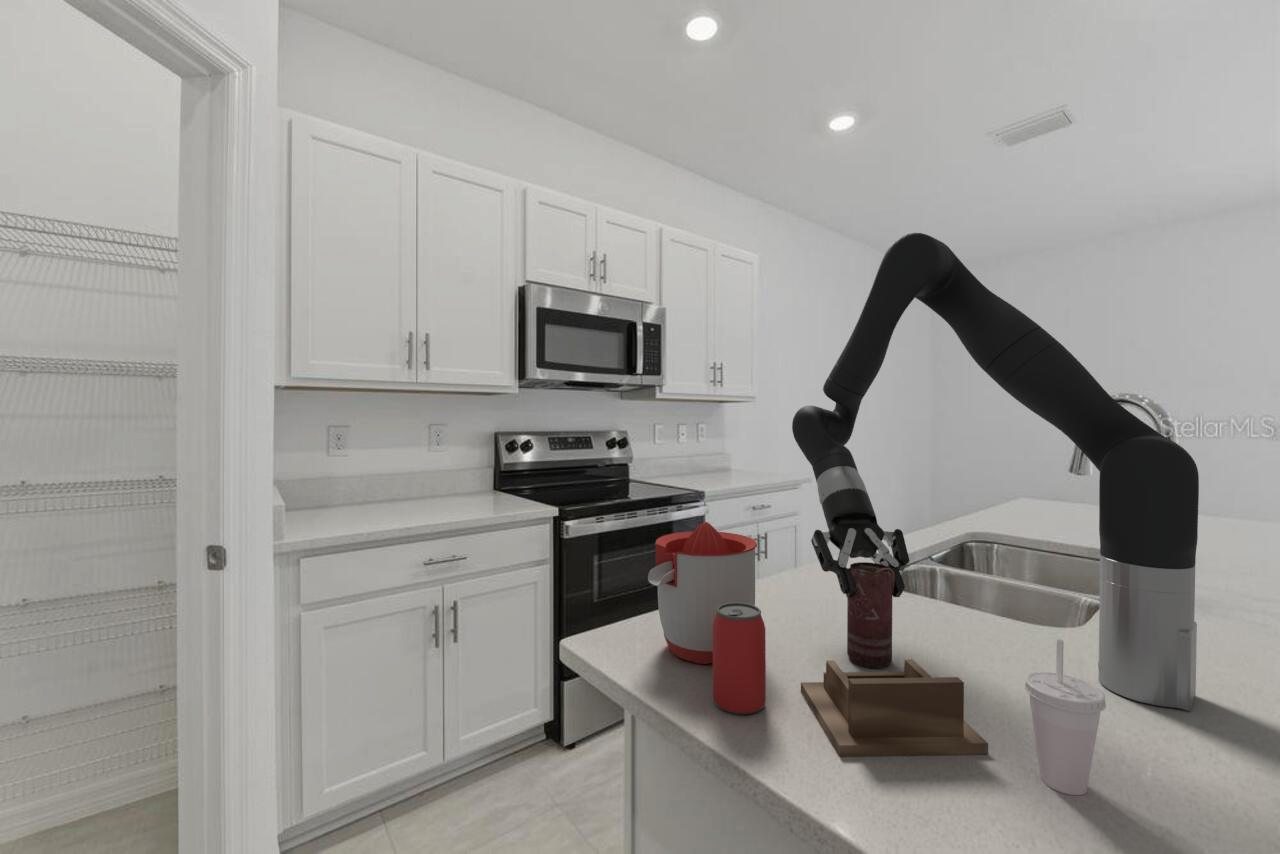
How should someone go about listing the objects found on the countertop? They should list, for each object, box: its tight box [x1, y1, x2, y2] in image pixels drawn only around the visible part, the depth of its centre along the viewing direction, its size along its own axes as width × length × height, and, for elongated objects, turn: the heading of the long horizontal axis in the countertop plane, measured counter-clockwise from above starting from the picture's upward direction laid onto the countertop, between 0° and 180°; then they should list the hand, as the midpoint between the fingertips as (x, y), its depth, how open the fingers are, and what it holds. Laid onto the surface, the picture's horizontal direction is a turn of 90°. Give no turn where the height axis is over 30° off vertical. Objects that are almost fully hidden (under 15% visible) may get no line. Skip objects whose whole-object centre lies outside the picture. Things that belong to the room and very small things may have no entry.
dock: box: [800, 659, 989, 757], centre depth 67 cm, size 14×16×7 cm
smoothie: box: [1024, 638, 1107, 796], centre depth 56 cm, size 6×6×14 cm
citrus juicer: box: [647, 521, 758, 665], centre depth 87 cm, size 16×17×20 cm
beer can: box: [712, 603, 767, 715], centre depth 71 cm, size 7×7×12 cm
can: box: [846, 561, 895, 670], centre depth 83 cm, size 6×6×14 cm
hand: (875, 594), depth 81 cm, fingers closed on can, 6 cm apart
